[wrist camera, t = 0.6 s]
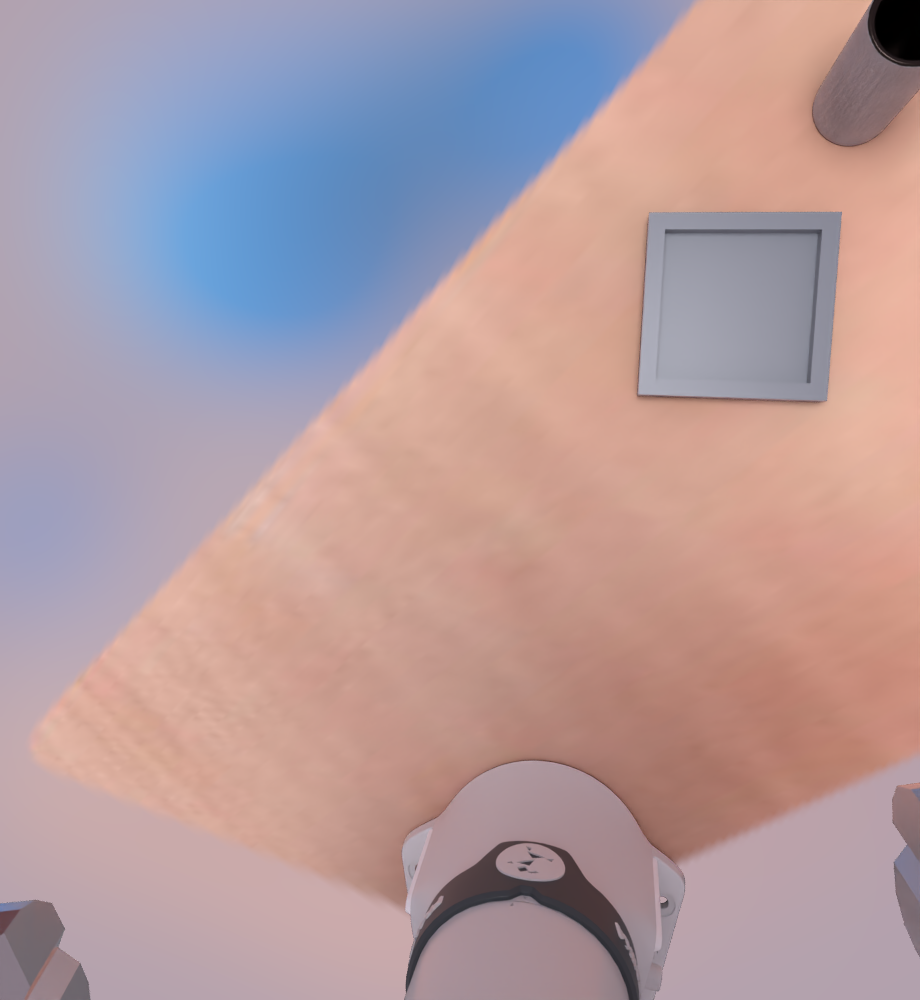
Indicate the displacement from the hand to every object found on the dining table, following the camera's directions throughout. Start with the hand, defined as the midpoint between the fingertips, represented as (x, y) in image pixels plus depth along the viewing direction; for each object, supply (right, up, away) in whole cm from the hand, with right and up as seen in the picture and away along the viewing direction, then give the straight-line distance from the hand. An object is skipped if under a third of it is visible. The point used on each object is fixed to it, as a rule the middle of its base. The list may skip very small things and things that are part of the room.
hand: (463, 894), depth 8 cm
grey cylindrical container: (+23, +27, +40) cm, 54 cm away
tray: (+17, +16, +42) cm, 48 cm away
